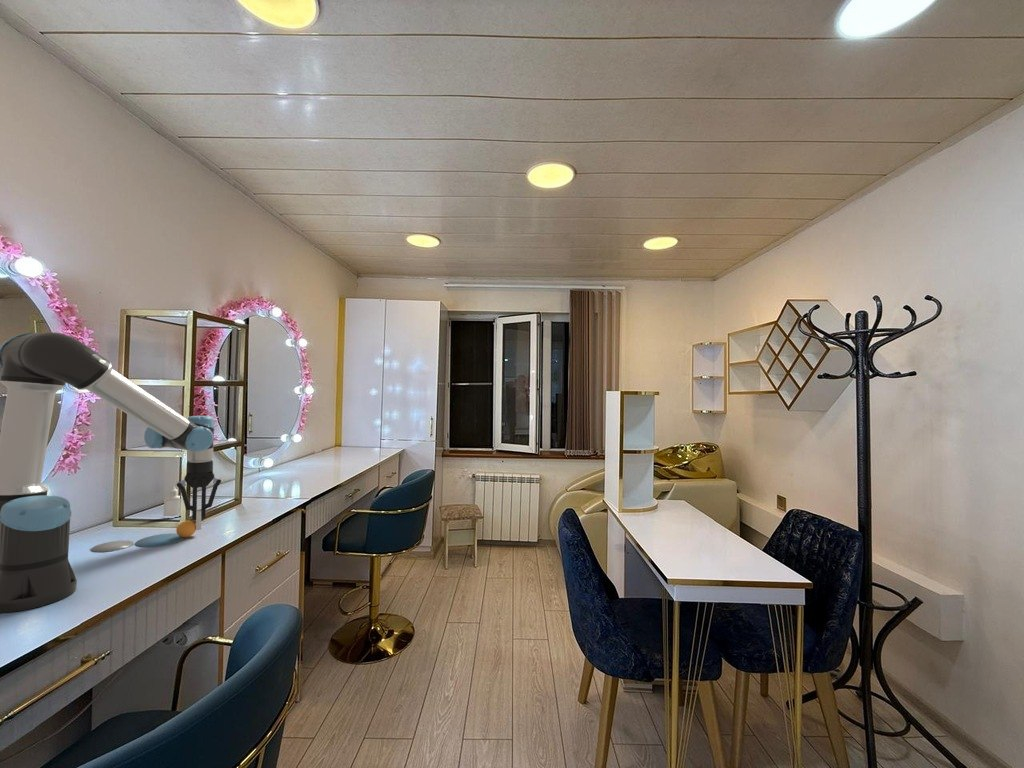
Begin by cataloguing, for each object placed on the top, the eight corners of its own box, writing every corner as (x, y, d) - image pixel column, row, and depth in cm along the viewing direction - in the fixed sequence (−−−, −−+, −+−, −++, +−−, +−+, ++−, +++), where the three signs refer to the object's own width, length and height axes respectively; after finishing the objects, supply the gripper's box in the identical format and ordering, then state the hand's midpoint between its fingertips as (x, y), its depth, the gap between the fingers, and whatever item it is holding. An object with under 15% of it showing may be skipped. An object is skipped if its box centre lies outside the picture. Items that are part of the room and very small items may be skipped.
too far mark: (108, 553, 136) (108, 552, 136) (82, 550, 138) (82, 549, 138) (141, 542, 146) (141, 542, 146) (116, 539, 148) (116, 539, 148)
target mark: (158, 548, 141) (158, 548, 141) (124, 544, 144) (124, 544, 144) (194, 536, 154) (194, 535, 154) (162, 532, 156) (162, 531, 156)
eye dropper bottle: (177, 519, 172) (179, 487, 172) (161, 519, 171) (162, 487, 171) (183, 515, 176) (185, 485, 177) (167, 516, 175) (168, 485, 175)
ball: (192, 537, 151) (181, 525, 149) (179, 543, 152) (168, 531, 150) (203, 527, 156) (192, 515, 154) (191, 532, 157) (180, 520, 155)
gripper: (222, 457, 161) (220, 522, 162) (177, 460, 154) (175, 528, 154) (222, 460, 155) (221, 528, 155) (176, 463, 148) (174, 535, 148)
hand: (198, 528), depth 155 cm, fingers closed
